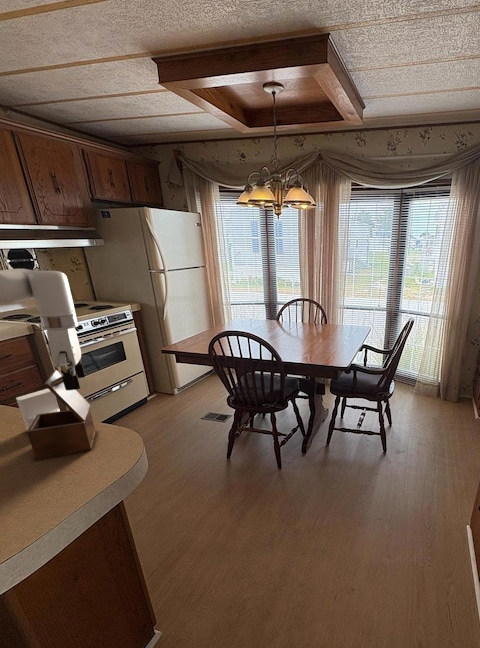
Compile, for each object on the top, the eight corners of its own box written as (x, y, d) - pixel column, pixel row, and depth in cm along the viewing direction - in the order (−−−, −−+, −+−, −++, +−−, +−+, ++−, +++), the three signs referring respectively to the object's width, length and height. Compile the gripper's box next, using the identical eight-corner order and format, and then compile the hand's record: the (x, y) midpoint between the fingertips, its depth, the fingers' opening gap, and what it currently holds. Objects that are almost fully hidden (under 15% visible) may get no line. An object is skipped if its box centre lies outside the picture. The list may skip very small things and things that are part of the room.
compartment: (36, 459, 92) (26, 431, 89) (45, 440, 101) (37, 414, 98) (91, 449, 98) (83, 422, 94) (95, 432, 106) (89, 407, 103)
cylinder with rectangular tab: (54, 419, 113) (44, 385, 108) (70, 426, 109) (60, 392, 105) (22, 431, 105) (9, 395, 101) (37, 439, 102) (25, 402, 97)
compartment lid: (44, 384, 87) (64, 374, 88) (53, 371, 96) (71, 361, 97) (82, 422, 94) (100, 412, 95) (87, 406, 103) (104, 397, 104)
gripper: (49, 315, 94) (66, 374, 100) (32, 329, 79) (52, 397, 86) (82, 314, 97) (96, 371, 103) (71, 327, 82) (87, 393, 89)
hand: (76, 383), depth 95 cm, fingers open, 8 cm apart
